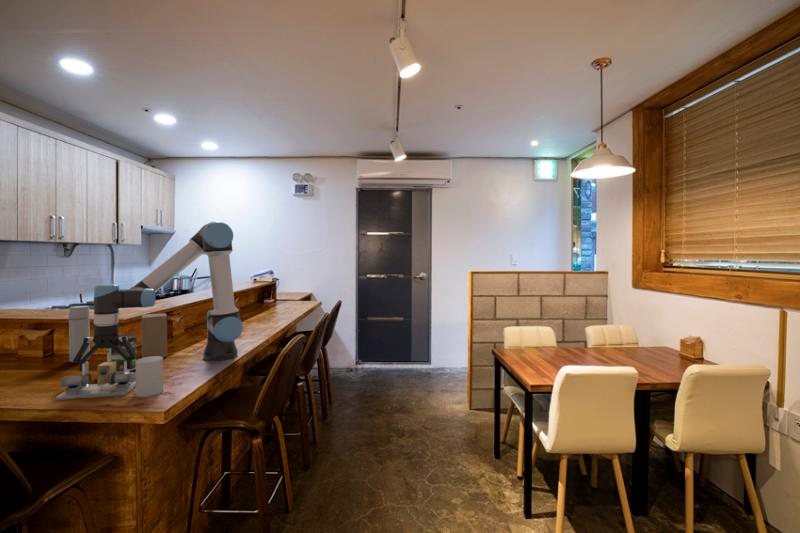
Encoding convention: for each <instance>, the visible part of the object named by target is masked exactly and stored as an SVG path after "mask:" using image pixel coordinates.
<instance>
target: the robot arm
mask: <svg viewBox="0 0 800 533" xmlns="http://www.w3.org/2000/svg"><path fill="white" fill-rule="evenodd" d="M233 239H234V231H233V229H232V228H231V226H230V225H228V224H227V223H225V222H224V221H223V222H222V221H210V222H208V223H206V224H204V225H202V227H200V229H199V230H198V231H197V232H196V233H195V234H193V236H192V237H190V238H189V239H188V241H189V242H188V243H187V244H185V245H184V246H183V247H181V248H180V249H179V250H178V251H177V252H175V253H174V254H173V255H171V256H170V257H169V258H167V260H165V261H164V262H162V263H161V264H160V265H159V266H158V267H157V268H155V269H154V270H152V271H151V272H150V273H149V274H148V275H147V276H145V277H144V278H143V279H142V280H140V281H138V282H137V283H136V284H135V285H134V286H131V287H130V288H127V289H126V288H124V289H122V288H120V287H119V286H120V285H119V284H116V283H115V284H114V283H113V284H112V283H111V284H110V283H109V284H107V283H104V284H97V285H95V286H94V290H93V291H94V292H93V324H94V326H93V337H91V336H90V337H86V338H84V340H83V345H82V346H81V348H80V350H79V351H78V353H77V355H76V356H75V358H74V360H73V362H77V363H78V365H79V368H78V369H79V372H80V373H81V375H85V374H89V368H90V367H89V365H90V364H89V359H90V358H91V357H92V356H93V355H94V354H95V352H96V351H98V350H99V349H100V350H102V349H106V350H107V349H110V348H113V349H114V350H116V351H117V352H118V353H119V354H120V355H121V356H122V357H123V358H124V359H125V360H126V361H125V362H124V373H127V372H130V371H129V369H131V368H132V360H134V359H136V358H137V359H138V358H139V356H138V354H136V352H135V350H134V349H133V347H132V345H131V344H130V342H129V338H128V336H127V335H128V334H125V335H126V336H123V337H119V333H120V331H119V329H120V328H119V326H120V325H119V319H120V316H119V314H120V312H119V310H120V309H129V308H130V309H132V308H149V307H151V308H152V307H154V306H155V305H156V293H157V292H158V291H159V290H160V289H162V288H163V287H164V286H166V285H167V284H168V283H169V282H171V280H172V279H174V278H175V277H177V275H179V274H180V273H182V271H184V270H185V269H186V268H187V267H188V266H190V265H191V264H193V263H194V262H195V261H196V260H197V259H198V258H200V257H201V256H202V255H203V256H205V255H206V257H208V265H209V266H208V267H209V274H210V276H209V277H210V284H211V293H212V303H213V309H212V310H211V309H210V310H208V311H207V313H206V314H207V315H206V331H207V332H206V339H207V340H206V344H205V347H204V351H203V353H202V358H203V360H205V361H224V360H223V359H225V360H229V359H228V358H230V359H233V358H235V357H234V356H236V355H237V354H239V353H238V347H237V346H236V342H235V340H237V339H239V337H241V335H242V333H243V330H244V327H243V326H244V325H243V322H242V320H241V318H240V309H239V308H238V307H236V306H235V296H234V295H235V294H234V288H233V286H234V285H233V277H232V267H231V259H230V258H231V257H230V254H232V252H233V243H232V242H233ZM119 340H120V341H121V342H123V345H124V347H125V348H126V350H127V352H128V353H129V354H128V353H127V352H126V351H125V350H124V349H123V348H122V347H121V345H120V344H119V343H118V341H119ZM92 342H93V343H94V345H93V346H92V347H91V348H90V351H89V352H88V353H87V354H86V355H85V356H84V357H83V358H82V356H83V354H84V353H85V351H86V349H87V348H88V346H89V344H91V343H92ZM237 356H238V355H237ZM237 356H236V357H237ZM232 357H233V358H232ZM81 358H82V359H81ZM73 362H72V363H73Z"/></svg>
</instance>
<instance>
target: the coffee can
mask: <svg viewBox="0 0 800 533" xmlns="http://www.w3.org/2000/svg"><path fill="white" fill-rule="evenodd" d="M118 335H119V334H118ZM126 335H127V336H128V338H129V342H130V344H131V345H132V347H133V349H134V350H135V352H136V354H137V346H138V345H137V343H138V342H137V341H138V340H137V338H138V336H137V335H136V334H120V335H119V337H123V336H126ZM118 343H119V344H120V345H121V347H122V348H123V349H124V350H125V351H126V352H127V350H126V348H125V347H124V345H123V342H121V341H120V340H119V341H118ZM127 353H128V352H127ZM128 354H129V353H128ZM137 355H138V354H137ZM137 359H138V357H137V358H136V359H134V360H132V368H131V369H129V372H133V371H134V370H135V371H136V360H137ZM115 361H116V373H124V362H125V361H126V360H125V359H124V358H123V357H122V356H121V355H120V354H119V353H118V352H117V351H116V350H114V349H113V348H110V349H107V348H106V362H115Z"/></svg>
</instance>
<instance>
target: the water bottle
mask: <svg viewBox="0 0 800 533" xmlns="http://www.w3.org/2000/svg"><path fill="white" fill-rule="evenodd" d="M90 312H91V311H90V306H89V305H77V306H70V307H69V313H68V317H67V319H68V343H69V344H68V354H69V355H68V358H69V360H68V361H69V362H70V363H73V364H74V363H77V362H73V360H74V358H75V356H76V355H77V353H78V351H79V350H80V348H81V346H82V345H83V340H84V338H86V337H91V336H90V335H91V334H90V332H91V331H90V328H91V327H90V317H91V314H90ZM90 344H91V343H90ZM90 344H89V346H88V348H87V349H86V351H85V353H84V354H83V356H82V358H83V357H84V356H85V355H86V354H87V353H88V352H89V351H90V350H91V347H90V346H91V345H90ZM82 358H81V359H82Z"/></svg>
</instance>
